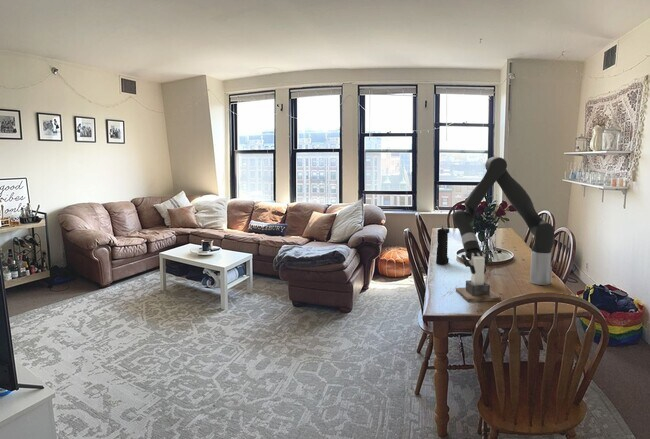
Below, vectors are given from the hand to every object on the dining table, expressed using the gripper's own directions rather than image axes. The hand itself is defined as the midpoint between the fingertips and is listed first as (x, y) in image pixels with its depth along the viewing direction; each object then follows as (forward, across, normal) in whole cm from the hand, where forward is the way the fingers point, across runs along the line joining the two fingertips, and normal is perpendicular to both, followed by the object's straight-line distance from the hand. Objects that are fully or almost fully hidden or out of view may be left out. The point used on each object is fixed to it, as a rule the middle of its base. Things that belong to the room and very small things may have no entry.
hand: (479, 273), depth 198 cm
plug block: (+3, 0, +6) cm, 7 cm away
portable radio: (-35, +2, +52) cm, 63 cm away
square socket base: (+7, 0, +10) cm, 12 cm away
